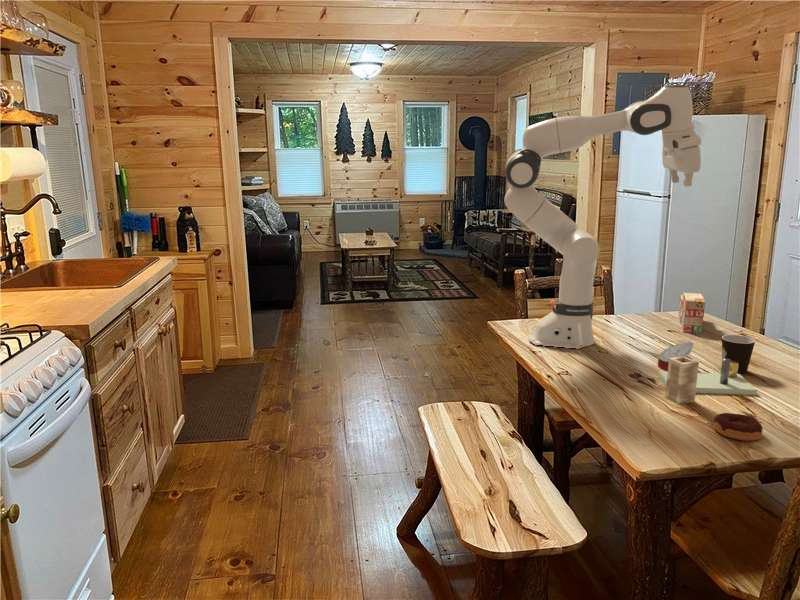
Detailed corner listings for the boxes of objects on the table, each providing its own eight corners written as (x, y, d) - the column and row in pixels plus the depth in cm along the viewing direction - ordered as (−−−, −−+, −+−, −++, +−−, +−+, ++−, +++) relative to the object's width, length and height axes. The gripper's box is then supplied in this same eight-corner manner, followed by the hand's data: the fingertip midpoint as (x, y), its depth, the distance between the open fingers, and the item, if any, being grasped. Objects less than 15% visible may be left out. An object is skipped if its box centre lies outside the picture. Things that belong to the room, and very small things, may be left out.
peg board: (670, 391, 161) (670, 386, 161) (658, 376, 173) (658, 371, 172) (756, 395, 158) (757, 389, 158) (738, 378, 170) (739, 373, 169)
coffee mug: (750, 378, 170) (754, 345, 168) (716, 372, 174) (720, 340, 172) (752, 365, 179) (756, 334, 177) (720, 361, 184) (723, 330, 182)
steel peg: (721, 384, 162) (724, 360, 160) (718, 381, 164) (721, 358, 162) (729, 384, 161) (731, 360, 160) (726, 382, 163) (729, 358, 162)
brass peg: (726, 377, 166) (728, 364, 165) (722, 373, 169) (724, 360, 169) (738, 378, 166) (740, 364, 165) (734, 374, 169) (736, 361, 168)
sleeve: (678, 404, 153) (682, 364, 151) (665, 396, 158) (669, 358, 155) (694, 401, 155) (698, 362, 152) (680, 394, 159) (684, 356, 157)
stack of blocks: (677, 317, 234) (680, 287, 231) (695, 318, 232) (698, 288, 229) (683, 332, 214) (686, 299, 211) (702, 334, 212) (705, 300, 209)
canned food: (685, 388, 176) (687, 365, 170) (652, 376, 182) (652, 354, 176) (700, 363, 181) (701, 340, 175) (666, 353, 188) (667, 330, 182)
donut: (766, 432, 137) (768, 416, 136) (756, 448, 130) (759, 431, 129) (719, 420, 144) (720, 405, 143) (707, 435, 137) (709, 419, 136)
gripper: (655, 140, 190) (658, 182, 194) (681, 143, 170) (684, 190, 174) (675, 135, 189) (678, 178, 193) (703, 139, 170) (706, 186, 174)
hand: (681, 184), depth 184 cm, fingers open, 8 cm apart
